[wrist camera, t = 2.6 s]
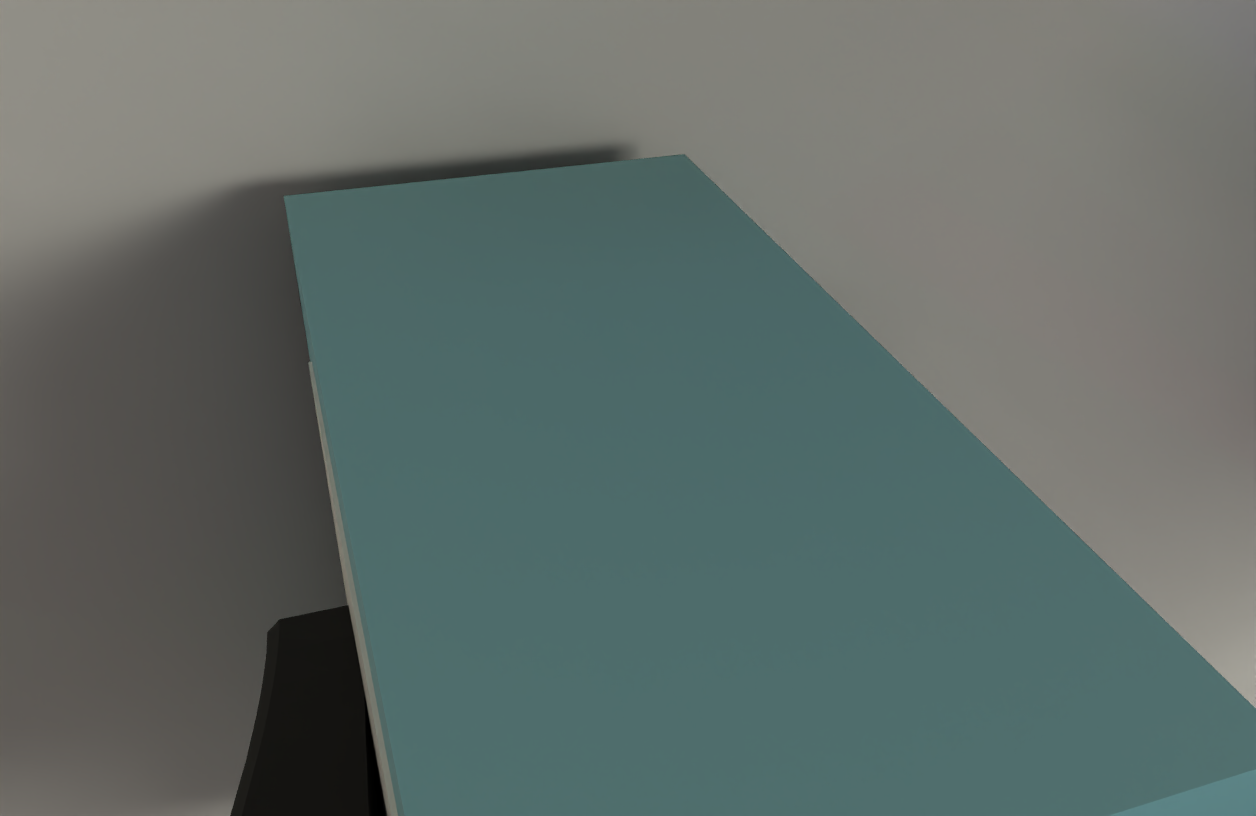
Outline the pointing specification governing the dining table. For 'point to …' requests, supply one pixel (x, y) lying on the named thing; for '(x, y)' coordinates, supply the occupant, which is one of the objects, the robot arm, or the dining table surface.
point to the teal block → (702, 534)
